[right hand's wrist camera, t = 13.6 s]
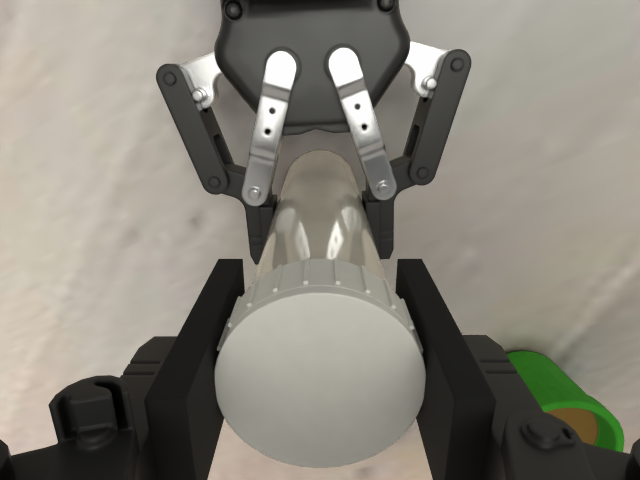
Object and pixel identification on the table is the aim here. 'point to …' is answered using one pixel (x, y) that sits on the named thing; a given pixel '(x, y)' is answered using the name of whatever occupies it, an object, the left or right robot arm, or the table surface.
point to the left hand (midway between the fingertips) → (323, 265)
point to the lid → (320, 365)
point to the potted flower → (568, 400)
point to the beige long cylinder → (320, 217)
